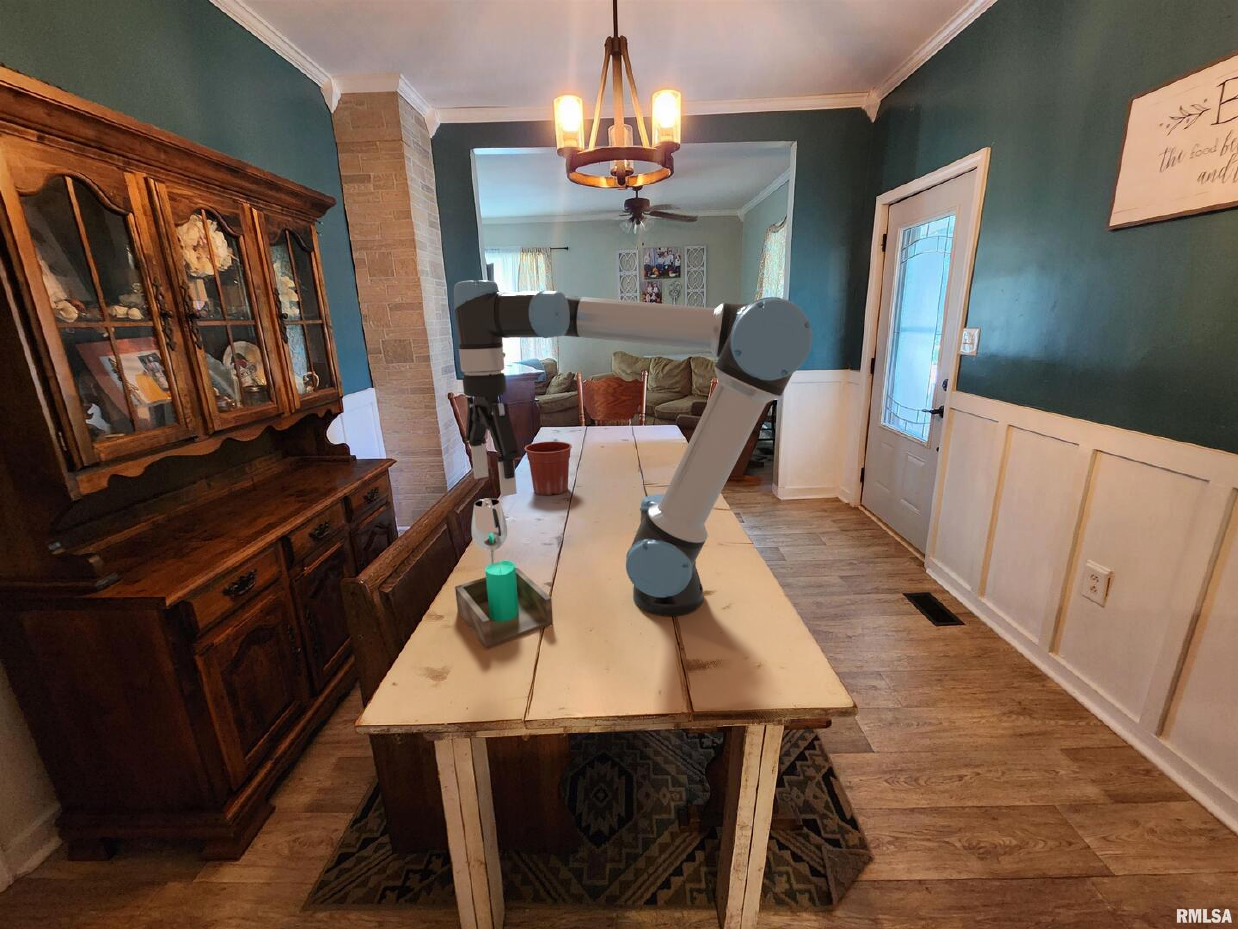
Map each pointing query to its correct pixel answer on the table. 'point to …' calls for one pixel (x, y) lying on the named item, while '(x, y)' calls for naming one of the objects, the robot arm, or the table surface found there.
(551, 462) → the flower pot
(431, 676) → the table surface
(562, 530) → the table surface
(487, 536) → the wineglass
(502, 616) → the candle
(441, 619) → the table surface
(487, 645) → the tray
